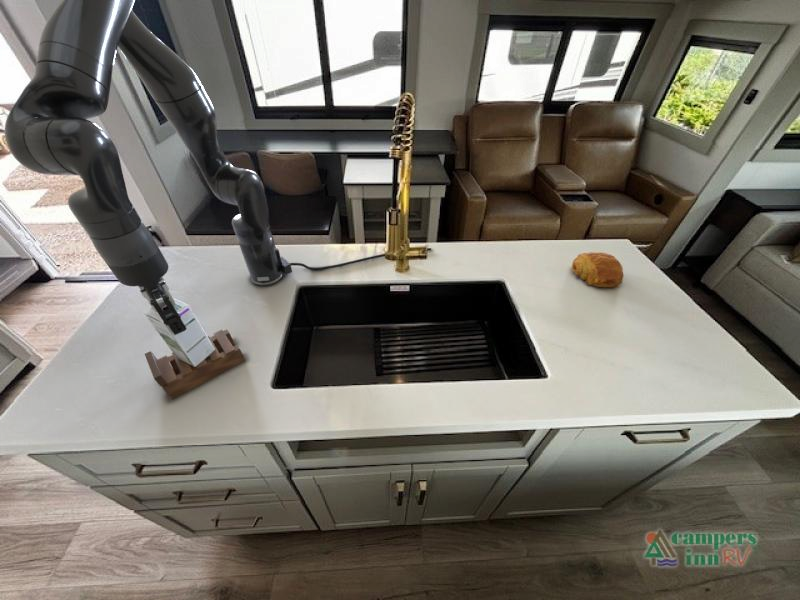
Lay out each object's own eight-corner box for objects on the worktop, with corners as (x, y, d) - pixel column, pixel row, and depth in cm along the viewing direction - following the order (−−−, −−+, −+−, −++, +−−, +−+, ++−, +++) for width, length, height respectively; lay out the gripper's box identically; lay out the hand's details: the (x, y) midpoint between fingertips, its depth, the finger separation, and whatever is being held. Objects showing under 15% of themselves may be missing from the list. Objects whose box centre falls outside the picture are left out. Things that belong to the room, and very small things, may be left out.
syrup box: (216, 349, 73) (190, 302, 63) (194, 368, 69) (162, 322, 60) (198, 340, 75) (170, 294, 65) (175, 359, 71) (141, 312, 61)
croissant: (564, 266, 113) (569, 246, 108) (612, 264, 111) (620, 244, 106) (577, 292, 102) (584, 272, 97) (631, 291, 100) (641, 270, 95)
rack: (232, 340, 82) (221, 318, 76) (245, 360, 77) (235, 338, 72) (162, 375, 74) (144, 353, 68) (172, 399, 69) (153, 378, 64)
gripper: (168, 262, 52) (206, 331, 63) (146, 227, 59) (184, 294, 71) (112, 281, 48) (163, 351, 59) (96, 241, 56) (144, 309, 67)
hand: (174, 320), depth 65 cm, fingers closed on syrup box, 7 cm apart
